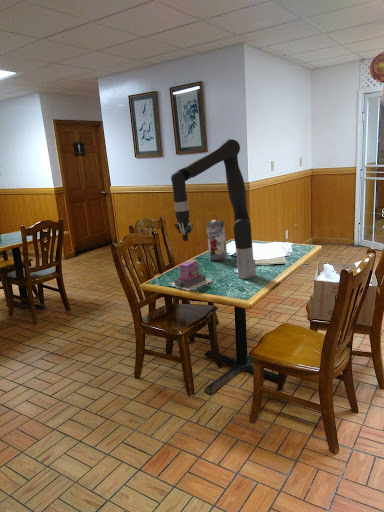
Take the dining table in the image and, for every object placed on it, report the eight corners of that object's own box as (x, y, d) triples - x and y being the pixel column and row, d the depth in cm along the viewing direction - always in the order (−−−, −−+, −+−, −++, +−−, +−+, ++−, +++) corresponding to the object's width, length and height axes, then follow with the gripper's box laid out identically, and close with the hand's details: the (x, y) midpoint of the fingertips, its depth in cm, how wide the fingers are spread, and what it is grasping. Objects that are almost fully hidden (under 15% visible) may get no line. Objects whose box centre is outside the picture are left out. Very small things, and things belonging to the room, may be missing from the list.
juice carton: (214, 257, 269) (210, 218, 262) (228, 257, 264) (224, 218, 257) (208, 261, 262) (204, 221, 254) (223, 261, 257) (219, 221, 250)
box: (189, 286, 216) (187, 265, 213) (181, 284, 219) (178, 264, 216) (200, 279, 224) (198, 259, 221) (192, 278, 227) (189, 259, 224)
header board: (213, 281, 222) (212, 274, 221) (189, 292, 210) (189, 284, 209) (191, 276, 235) (190, 270, 233) (168, 286, 223) (167, 279, 222)
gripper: (195, 208, 209) (199, 240, 214) (178, 208, 219) (182, 238, 223) (185, 211, 204) (189, 243, 209) (168, 210, 214) (172, 241, 218)
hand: (185, 240), depth 216 cm, fingers closed
